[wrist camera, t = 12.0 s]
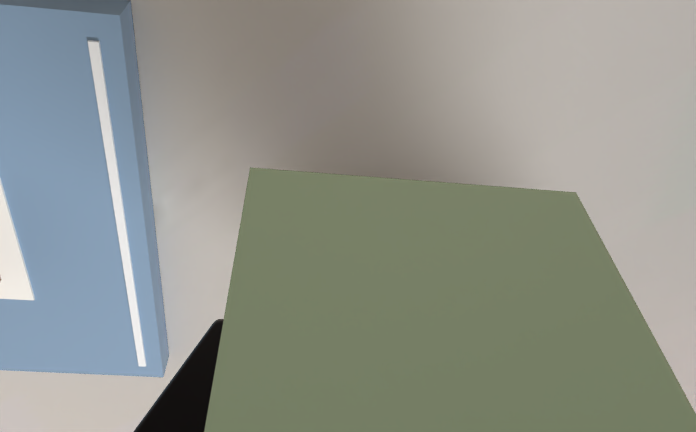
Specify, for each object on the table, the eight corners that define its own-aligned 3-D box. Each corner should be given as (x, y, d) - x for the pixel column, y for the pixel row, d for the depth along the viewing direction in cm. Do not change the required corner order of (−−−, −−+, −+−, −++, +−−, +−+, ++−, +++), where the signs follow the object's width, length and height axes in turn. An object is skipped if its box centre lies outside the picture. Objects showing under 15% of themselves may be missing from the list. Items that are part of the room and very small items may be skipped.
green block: (493, 389, 13) (569, 688, 9) (246, 379, 12) (209, 688, 8) (576, 192, 10) (751, 515, 6) (249, 167, 9) (191, 498, 5)
